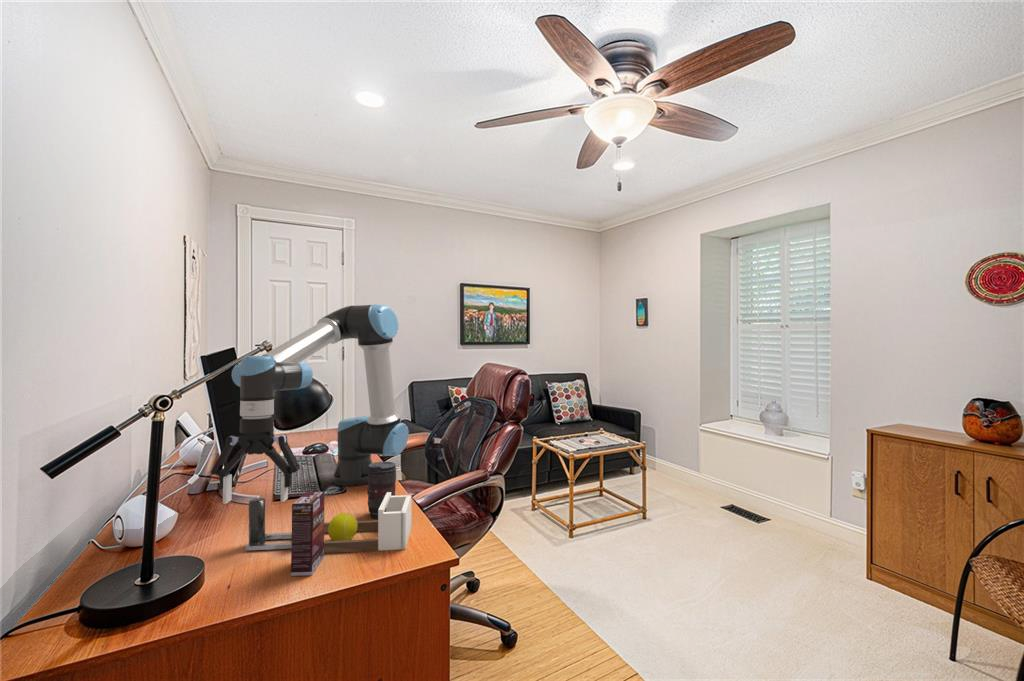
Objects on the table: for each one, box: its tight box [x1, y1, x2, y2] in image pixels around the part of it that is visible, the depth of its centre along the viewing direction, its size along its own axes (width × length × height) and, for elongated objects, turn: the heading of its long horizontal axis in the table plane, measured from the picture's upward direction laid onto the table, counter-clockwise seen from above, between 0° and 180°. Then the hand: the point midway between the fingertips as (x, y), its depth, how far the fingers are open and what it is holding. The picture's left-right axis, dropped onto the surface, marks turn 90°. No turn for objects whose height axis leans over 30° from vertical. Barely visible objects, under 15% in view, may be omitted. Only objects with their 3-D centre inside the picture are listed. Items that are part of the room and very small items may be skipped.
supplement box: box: [290, 491, 326, 577], centre depth 104 cm, size 9×5×16 cm, turn 5°
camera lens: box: [366, 461, 397, 520], centre depth 135 cm, size 8×8×15 cm
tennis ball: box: [327, 512, 358, 541], centre depth 117 cm, size 7×7×7 cm
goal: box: [377, 492, 412, 552], centre depth 119 cm, size 13×7×10 cm, turn 6°
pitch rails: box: [324, 519, 378, 554], centre depth 117 cm, size 13×17×2 cm
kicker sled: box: [245, 497, 292, 551], centre depth 115 cm, size 8×14×11 cm, turn 96°
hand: (255, 501), depth 115 cm, fingers open, 13 cm apart
